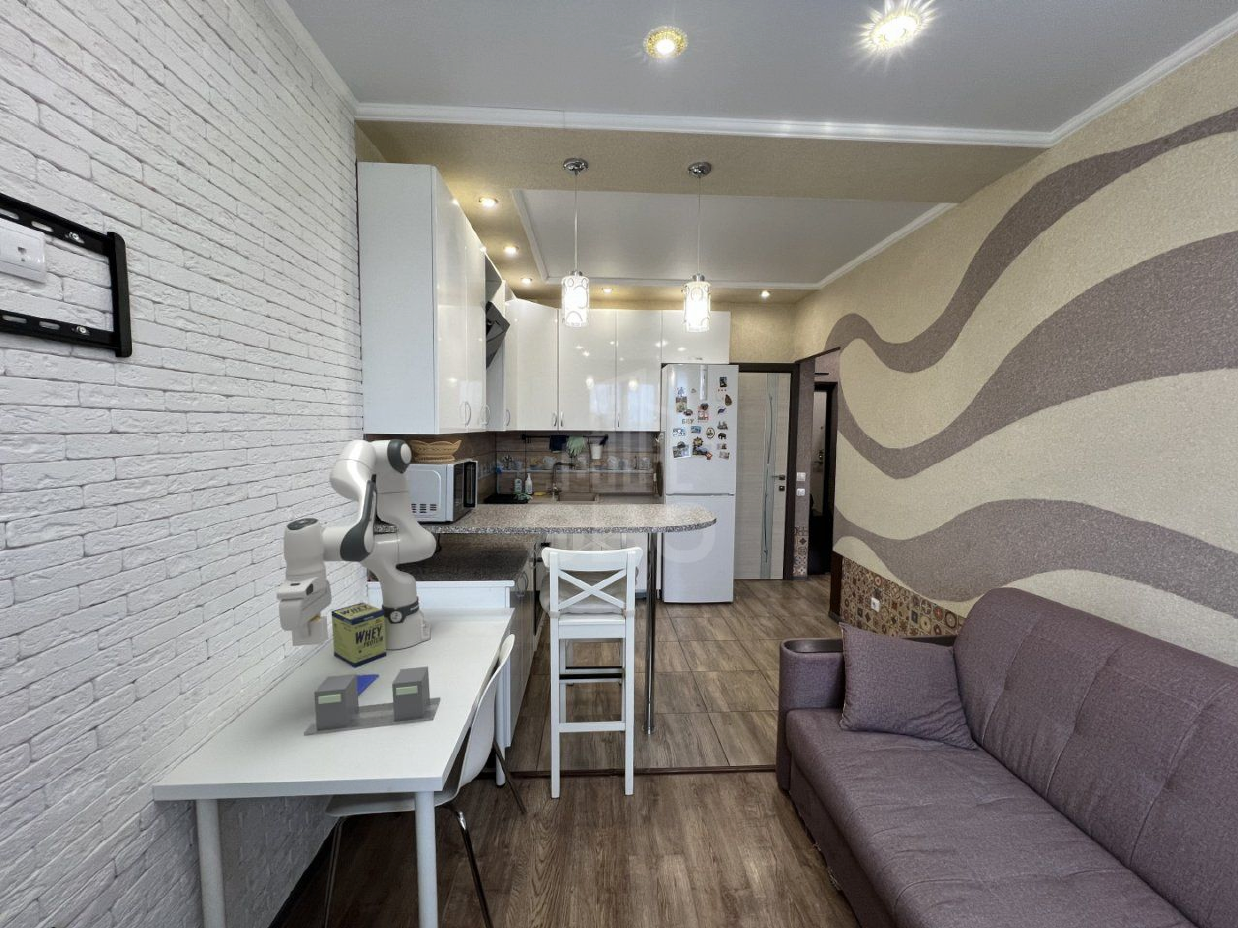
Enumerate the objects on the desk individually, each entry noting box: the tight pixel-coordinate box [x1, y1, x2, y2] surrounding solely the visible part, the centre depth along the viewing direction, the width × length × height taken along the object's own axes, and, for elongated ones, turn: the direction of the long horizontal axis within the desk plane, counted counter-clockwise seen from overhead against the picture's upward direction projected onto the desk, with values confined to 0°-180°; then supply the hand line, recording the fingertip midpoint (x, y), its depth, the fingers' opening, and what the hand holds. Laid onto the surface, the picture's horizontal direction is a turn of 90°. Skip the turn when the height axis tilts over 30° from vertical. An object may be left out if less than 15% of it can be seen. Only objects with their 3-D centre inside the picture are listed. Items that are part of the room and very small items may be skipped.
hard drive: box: [357, 673, 380, 699], centre depth 142 cm, size 2×8×12 cm
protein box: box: [330, 602, 387, 668], centre depth 163 cm, size 10×16×16 cm
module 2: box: [391, 666, 431, 720], centre depth 128 cm, size 8×7×10 cm
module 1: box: [313, 673, 360, 729], centre depth 125 cm, size 8×7×10 cm
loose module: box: [291, 615, 329, 647], centre depth 128 cm, size 4×7×6 cm, turn 99°
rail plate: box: [303, 696, 441, 736], centre depth 127 cm, size 10×30×1 cm, turn 100°
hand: (310, 633), depth 128 cm, fingers closed on loose module, 3 cm apart
